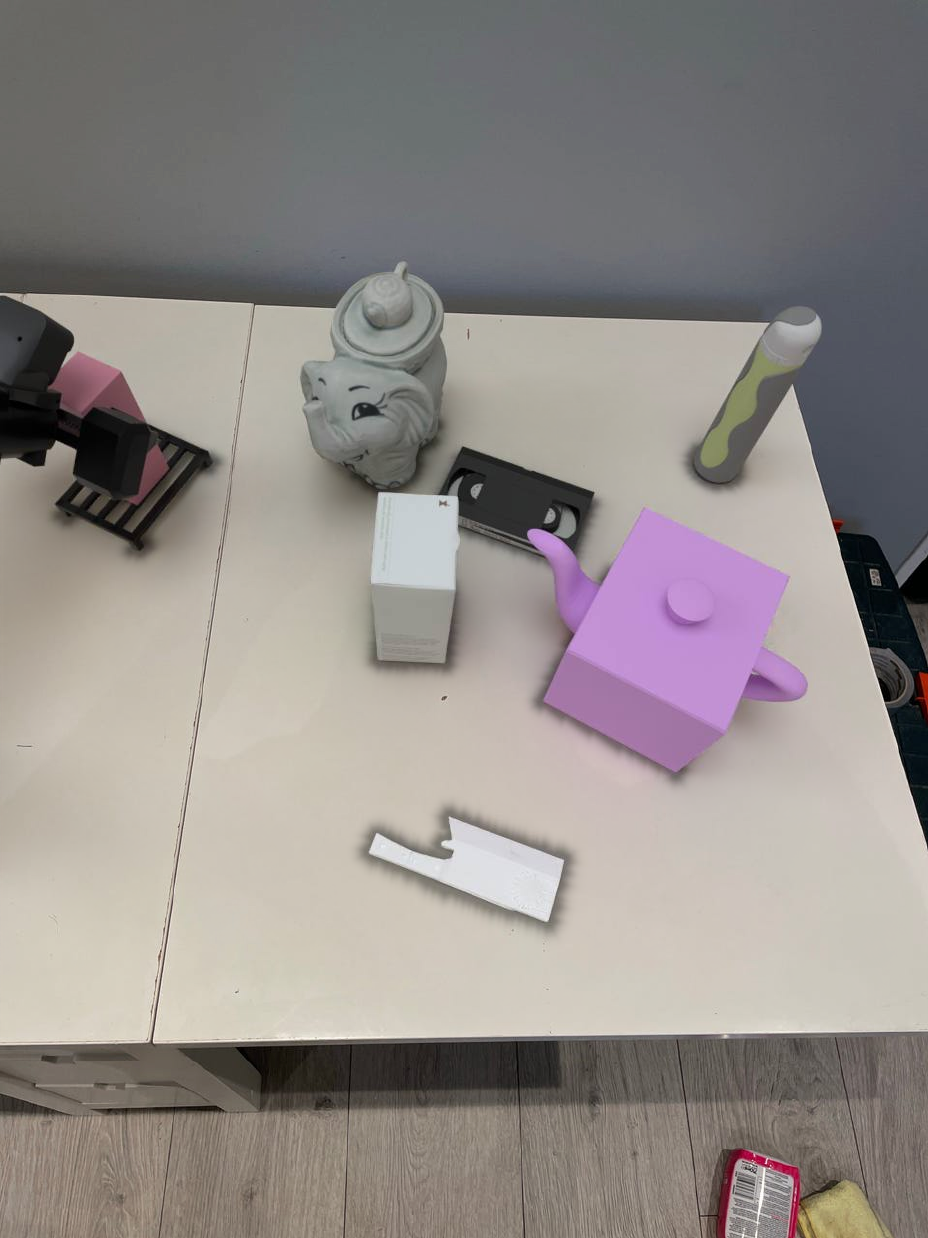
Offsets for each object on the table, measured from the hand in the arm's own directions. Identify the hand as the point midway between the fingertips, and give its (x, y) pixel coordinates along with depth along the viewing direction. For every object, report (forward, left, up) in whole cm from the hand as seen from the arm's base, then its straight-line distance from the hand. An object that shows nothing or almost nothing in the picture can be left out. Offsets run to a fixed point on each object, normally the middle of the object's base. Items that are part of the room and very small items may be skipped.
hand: (112, 418), depth 65 cm
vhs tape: (+31, +20, -9) cm, 38 cm away
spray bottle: (+45, +37, -9) cm, 59 cm away
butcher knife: (+47, -11, -9) cm, 49 cm away
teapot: (+49, +12, -9) cm, 51 cm away
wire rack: (0, -1, -9) cm, 9 cm away
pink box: (0, -1, -7) cm, 7 cm away
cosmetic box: (+31, +3, -9) cm, 33 cm away
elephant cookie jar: (+16, +16, -9) cm, 25 cm away
